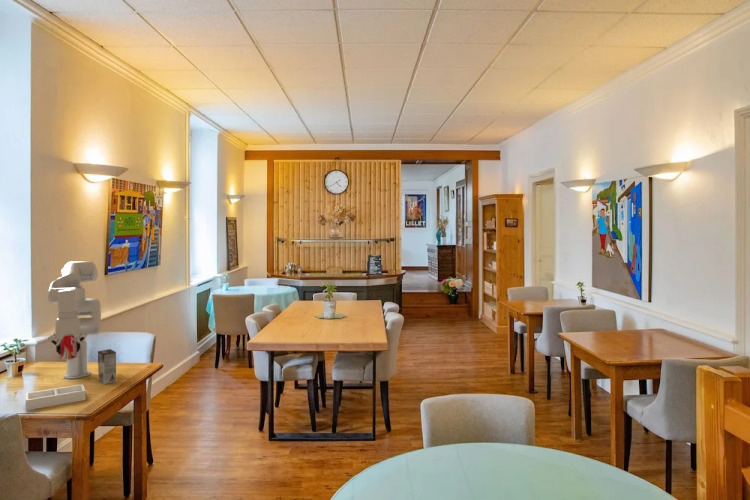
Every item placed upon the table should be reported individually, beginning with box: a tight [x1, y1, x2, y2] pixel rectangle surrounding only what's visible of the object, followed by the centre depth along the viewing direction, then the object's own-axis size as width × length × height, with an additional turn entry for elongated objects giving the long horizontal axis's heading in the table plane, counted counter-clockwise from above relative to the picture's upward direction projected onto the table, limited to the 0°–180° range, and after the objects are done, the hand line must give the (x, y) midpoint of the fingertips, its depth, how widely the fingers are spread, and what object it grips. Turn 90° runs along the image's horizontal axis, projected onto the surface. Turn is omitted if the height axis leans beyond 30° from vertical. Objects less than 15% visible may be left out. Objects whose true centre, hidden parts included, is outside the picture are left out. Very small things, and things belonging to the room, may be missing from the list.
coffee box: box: [97, 348, 117, 385], centre depth 261 cm, size 9×6×16 cm
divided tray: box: [25, 383, 87, 411], centre depth 231 cm, size 12×23×4 cm, turn 126°
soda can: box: [59, 334, 77, 361], centre depth 236 cm, size 7×7×12 cm
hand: (68, 352), depth 236 cm, fingers closed on soda can, 7 cm apart
